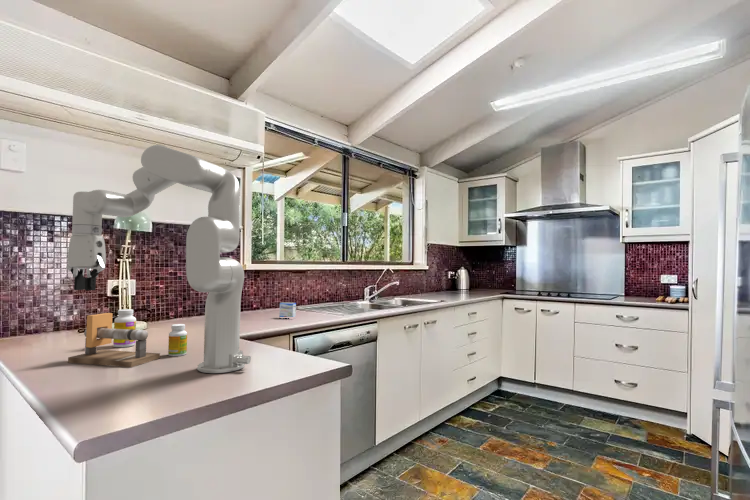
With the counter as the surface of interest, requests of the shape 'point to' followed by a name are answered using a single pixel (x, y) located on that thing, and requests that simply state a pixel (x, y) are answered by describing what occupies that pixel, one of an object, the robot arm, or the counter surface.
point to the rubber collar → (92, 326)
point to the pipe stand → (117, 356)
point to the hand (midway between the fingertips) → (84, 289)
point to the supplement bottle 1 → (124, 327)
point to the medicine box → (287, 310)
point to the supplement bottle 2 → (177, 340)
